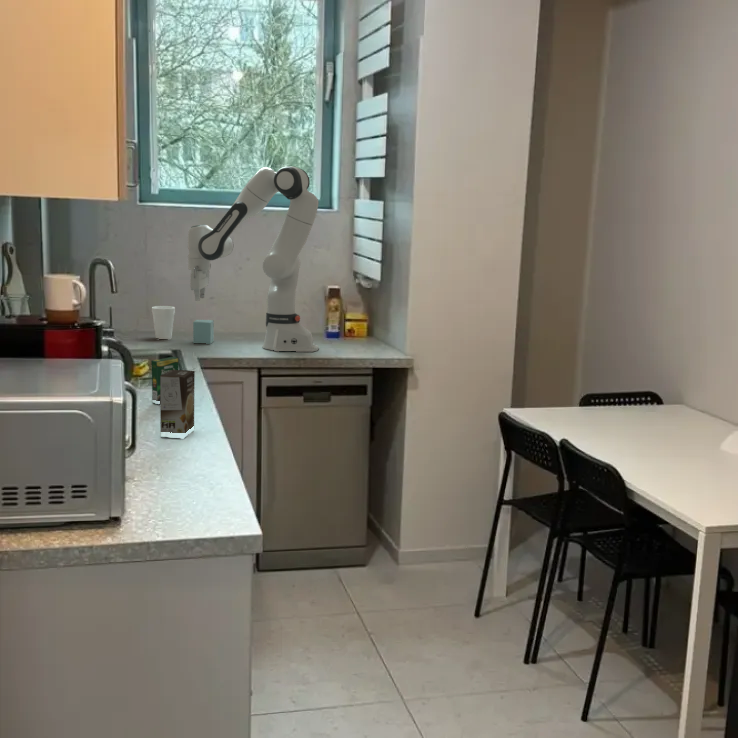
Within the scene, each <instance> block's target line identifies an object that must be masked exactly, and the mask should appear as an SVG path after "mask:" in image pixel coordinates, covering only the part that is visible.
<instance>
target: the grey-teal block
mask: <svg viewBox="0 0 738 738" xmlns="http://www.w3.org/2000/svg"><path fill="white" fill-rule="evenodd" d="M214 322H215V321H214V320H213V319H212V320H211V319H195V320H194V321H193V322H192V325H193V326H192V328H193V329H192V330H193V331H192V333H193V335H192V337H193V339H192V340H193V342H192V343H193V344H194V343H206V344H205V345H212V343H213V342H214V339H215V336H214V335H215V333H214V330H215V327H214V326H215V325H214V324H215V323H214Z"/></svg>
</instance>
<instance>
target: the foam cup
mask: <svg viewBox="0 0 738 738" xmlns="http://www.w3.org/2000/svg"><path fill="white" fill-rule="evenodd" d="M151 314H152V321H153V327H154V334H155V339H156V338H159V339H168V340H171V339H172V336H173V329H174V322H175V321H174V320H175V315H176V307H175V306H169V305H155V306H152V307H151ZM159 339H158V340H159Z"/></svg>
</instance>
